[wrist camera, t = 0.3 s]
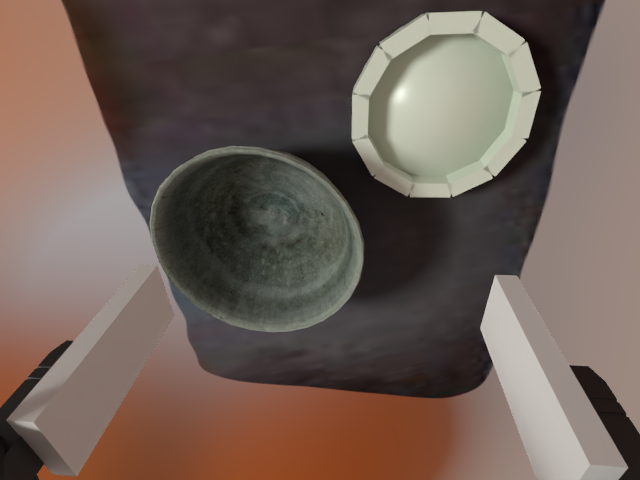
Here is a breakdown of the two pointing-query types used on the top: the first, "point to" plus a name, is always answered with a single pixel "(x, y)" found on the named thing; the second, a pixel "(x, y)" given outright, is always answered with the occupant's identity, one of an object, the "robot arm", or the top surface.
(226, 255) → the bowl
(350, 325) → the top surface
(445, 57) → the tray
